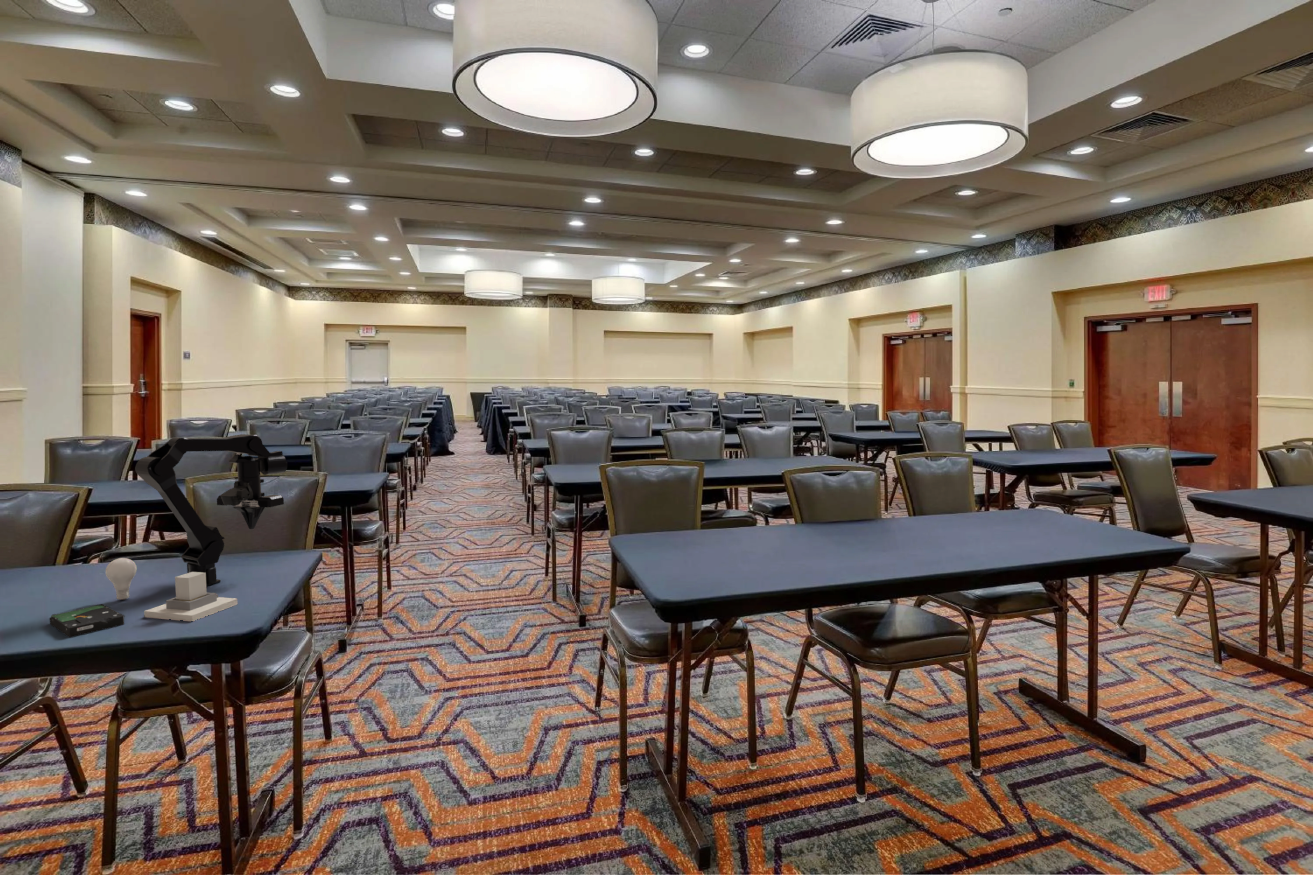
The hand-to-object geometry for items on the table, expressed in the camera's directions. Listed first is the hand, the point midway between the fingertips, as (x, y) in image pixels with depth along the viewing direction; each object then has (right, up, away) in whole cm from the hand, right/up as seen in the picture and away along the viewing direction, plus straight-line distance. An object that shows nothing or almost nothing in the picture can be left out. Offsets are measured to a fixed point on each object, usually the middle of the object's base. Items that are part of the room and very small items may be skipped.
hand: (251, 528), depth 203 cm
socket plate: (+5, -16, -34) cm, 38 cm away
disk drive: (-13, -17, -43) cm, 48 cm away
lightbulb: (-18, -15, -25) cm, 35 cm away
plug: (+5, -14, -34) cm, 37 cm away
